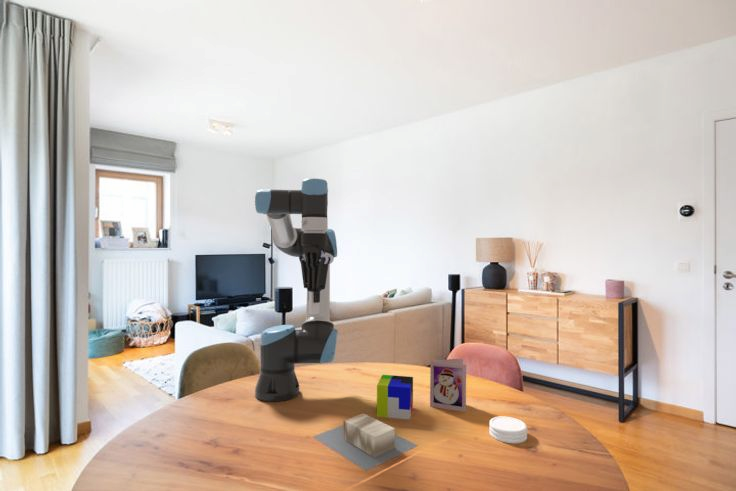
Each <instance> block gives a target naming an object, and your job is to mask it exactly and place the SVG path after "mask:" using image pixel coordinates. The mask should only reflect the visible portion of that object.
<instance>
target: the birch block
mask: <svg viewBox="0 0 736 491" xmlns="http://www.w3.org/2000/svg"><path fill="white" fill-rule="evenodd" d="M343 425H344V440H346V441H348V442H350V443H351V444H353V445H355V446H356V447H358V448H360V449H361V450H363V451H365V452H367V453H368V454H370V455H372V456H373V457H376V456H378V455H380V454H382V453H385V452H387V451H389V450H391V449H393V448H395V434H396V433H395V430H396V429H395V427H393V426H390V425H389V424H386V423H385V422H383V421H380V420H378V419H376V418H374V417H372V416H371V415H368V414H366V413H361V414H360V413H359V414H357V415H355V416H352V417H350V418H346V419H344V420H343Z"/></svg>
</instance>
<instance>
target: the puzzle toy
mask: <svg viewBox="0 0 736 491" xmlns="http://www.w3.org/2000/svg"><path fill="white" fill-rule="evenodd" d="M378 380H379V381H378V383H377V385H376V417H378V418H390V419H399V420H411V417H412V412H413V409H414V405H413V404H414V376H404V375H392V374H390V375H389V374H381V376H380V379H378Z"/></svg>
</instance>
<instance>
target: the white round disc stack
mask: <svg viewBox="0 0 736 491" xmlns="http://www.w3.org/2000/svg"><path fill="white" fill-rule="evenodd" d="M488 423H489V426H488V427H489V432H488V433H489V435H490V436H491V437H492V438H493V439H495V440H497V441H499V442H502V443H505V444H521V443H524V442H526V441H527V439H528V426H527V424H526V423H525V422H524V421H522V420H520V419H518V418H515V417H512V416H504V415H503V416H494V417H492V418H491V419H489V422H488Z"/></svg>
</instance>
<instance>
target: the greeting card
mask: <svg viewBox="0 0 736 491" xmlns="http://www.w3.org/2000/svg"><path fill="white" fill-rule="evenodd" d="M429 368H430V372H429V373H430V374H429V375H430V376H429V377H430V378H429V379H430V380H429V381H430V382H429V383H430V384H429V385H430V386H429V388H430V390H429V396H430V397H429V407H432V408H437V409H443V410H444V409H445V410H450V411H456V412H457V411H458V412H462V413H463V412H464V413H466V412H467V364H464V358H448V359H447V358H446V359H432V360H430V366H429Z"/></svg>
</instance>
